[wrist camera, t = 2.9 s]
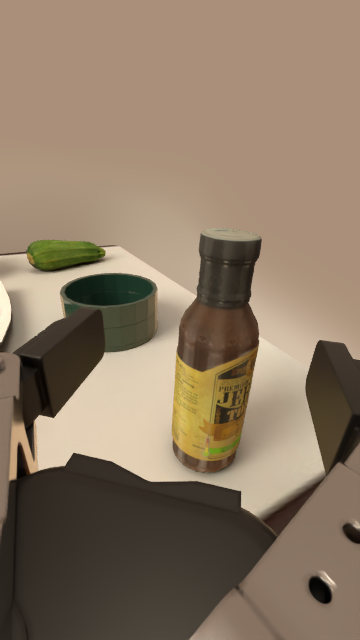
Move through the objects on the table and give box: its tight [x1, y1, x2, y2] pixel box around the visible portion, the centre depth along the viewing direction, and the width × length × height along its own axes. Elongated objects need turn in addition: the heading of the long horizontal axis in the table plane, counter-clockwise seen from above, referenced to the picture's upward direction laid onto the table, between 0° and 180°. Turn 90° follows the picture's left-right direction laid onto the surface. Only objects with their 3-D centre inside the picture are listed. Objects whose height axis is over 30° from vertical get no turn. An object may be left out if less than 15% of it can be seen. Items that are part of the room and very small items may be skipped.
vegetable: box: [26, 240, 105, 271], centre depth 75 cm, size 7×7×20 cm
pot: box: [60, 273, 157, 352], centre depth 46 cm, size 14×14×7 cm
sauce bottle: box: [172, 228, 262, 473], centre depth 23 cm, size 6×6×20 cm
